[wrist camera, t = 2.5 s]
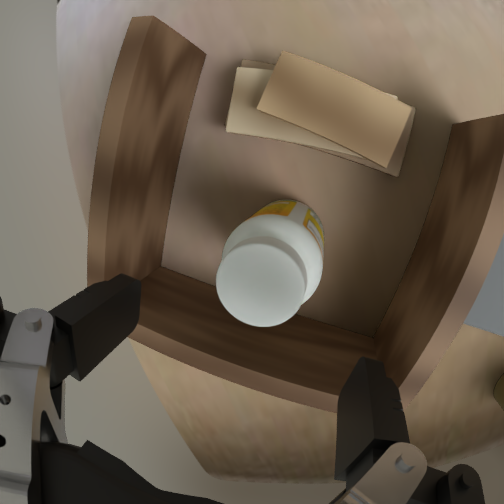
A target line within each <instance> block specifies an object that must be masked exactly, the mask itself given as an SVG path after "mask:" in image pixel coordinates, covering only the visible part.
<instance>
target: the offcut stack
mask: <svg viewBox="0 0 504 504" xmlns="http://www.w3.org/2000/svg"><path fill="white" fill-rule="evenodd" d="M397 97H398V96H395V95H391V94H388V93H384V92H382V91H380V90H378V89H376V88H374V87H372V86H370V85H368V84H366V83H363V82H361V81H359V80H357V79H355V78H353V77H350V76H348V75H346V74H344V73H341V72H339V71H337V70H334V69H332V68H329V67H327V66H324V65H322V64H319V63H317V62H314V61H311V60H309V59H306V58H303V57H300V56H297V55H294V54H291V53H288V52H285V51H282V53H281V55H280V57H279V59H278V62H277V64H276V65H274V64H269V63H264V62H258V61H252V60H245V59H243V60H242V63H241V67H237V71H236V76H235V82H234V87H233V92H232V98H231V102H230V106H229V110H228V113H227V117H226V121H225V126H226V132H229V133H234V134H241V135H248V136H255V137H261V138H267V139H273V140H279V141H284V142H290V143H295V144H299V145H303V146H306V147H310V148H313V149H316V150H320V151H323V152H326V153H329V154H332V155H335V156H338V157H342V158H345V159H347V160H350V161H353V162H356V163H359V164H362V165H365V166H368V167H370V168H373V169H376V170H378V171H381V172H384V173H386V174H389V175H391V176H395V177H398V175H399V172H400V169H401V165H402V162H403V158H404V155H405V151H406V147H407V144H408V140H409V136H410V132H411V128H412V124H413V120H414V115H415V111H416V108H414V107H412V106H410V105H407V104H405V103H403V102H400V101H399V100H397Z"/></svg>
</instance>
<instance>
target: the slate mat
mask: <svg viewBox="0 0 504 504" xmlns="http://www.w3.org/2000/svg"><path fill="white" fill-rule="evenodd" d="M464 324H467V325H470V326H473V327H476V328H479V329H482V330H485V331H488V332H492V333H495V334H498V335H501V336H504V234H503V237H502V240H501V242H500V245H499V248H498V250H497V253H496V255H495V258H494V260H493V263H492V265H491V268H490V270H489V272H488V274H487V277H486V279H485V281H484V283H483V285H482V288H481V290H480V292H479V294H478V296H477V298H476V300H475V302H474V304H473V306H472V308H471V310H470V312H469V313H468V315H467V317H466V319H465V321H464Z"/></svg>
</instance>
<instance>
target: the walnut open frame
mask: <svg viewBox="0 0 504 504" xmlns="http://www.w3.org/2000/svg"><path fill="white" fill-rule="evenodd" d="M205 57H206V53H204V52H203V51H202V50H200V49H199V48H198V47H197V46H195V45H194V44H193V43H191V42H190V41H189V40H187V39H186V38H185V37H183V36H182V35H180V34H179V33H178V32H176V31H175V30H173V29H172V28H171V27H169V26H168V25H166V24H165V23H163V22H162V21H161V20H159V19H158V18H156V17H155V16H142V17H132V19H131V22H130V25H129V27H128V30H127V33H126V36H125V39H124V42H123V45H122V48H121V51H120V54H119V57H118V61H117V64H116V67H115V71H114V75H113V78H112V82H111V86H110V90H109V94H108V98H107V102H106V106H105V111H104V116H103V120H102V125H101V131H100V136H99V142H98V147H97V154H96V160H95V167H94V175H93V183H92V192H91V202H90V214H89V229H88V255H87V287H89V286H90V285H92V284H94V283H98V282H102V281H109V280H110V279H112V278H114V277H115V276H117V275H119V274H120V273H123V274H126V275H128V276H130V277H133V278H135V279H138V280H140V282H141V300H140V315H139V321H138V324H137V326H136V328H135V329H134V331H133V332H132V333H131V334H130V335H128V336H127V337H129V338H131V339H133V340H135V341H137V342H139V343H141V344H143V345H145V346H147V347H149V348H151V349H154V350H156V351H158V352H160V353H162V354H165V355H167V356H169V357H171V358H174V359H176V360H178V361H180V362H183V363H185V364H188V365H190V366H192V367H195V368H197V369H200V370H202V371H205V372H207V373H210V374H212V375H215V376H218V377H220V378H223V379H226V380H228V381H231V382H234V383H237V384H239V385H242V386H245V387H248V388H251V389H254V390H257V391H260V392H263V393H266V394H269V395H272V396H276V397H279V398H282V399H286V400H289V401H292V402H296V403H299V404H303V405H307V406H310V407H314V408H318V409H322V410H326V411H330V412H334V413H337V403H338V398H339V395H340V392H341V390H342V388H343V386H344V384H345V383H346V381H347V379H348V378H349V376H350V374H351V372H352V371H353V369H354V367H355V365H356V364H357V362H358V360H359V359H360V358H361V357H362V356H364V357H368V358H371V359H375V360H379V361H382V362H383V364H384V368H385V372H386V377H388V378H392V380H393V381H394V383H395V384H396V386H397V387H398V389H399V392H400V397H401V403H402V406H403V411H404V410H405V409H406V407H407V406H408V405H409V404H410V402H411V401H412V400H413V399H414V397H415V396H416V395H417V393H418V392H419V391H420V389H421V388H422V387H423V385H424V384H425V382H426V381H427V380H428V378H429V377H430V375H431V374H432V373H433V371H434V370H435V368H436V367H437V365H438V364H439V362H440V361H441V359H442V358H443V356H444V354H445V353H446V351H447V350H448V348H449V347H450V345H451V343H452V342H453V340H454V338H455V337H456V335H457V333H458V331H459V330H460V328H461V326H462V324H463V323H464V321H465V319H466V317H467V315H468V313H469V312H470V310H471V308H472V306H473V304H474V302H475V300H476V298H477V296H478V294H479V292H480V290H481V288H482V285H483V283H484V281H485V279H486V277H487V274H488V272H489V270H490V268H491V265H492V263H493V260H494V258H495V255H496V253H497V250H498V248H499V245H500V242H501V240H502V237H503V234H504V114H501V115H496V116H491V117H486V118H481V119H476V120H471V121H466V122H462V123H457V124H453V125H452V130H451V134H450V138H449V143H448V147H447V151H446V155H445V159H444V162H443V166H442V170H441V173H440V177H439V180H438V183H437V187H436V190H435V193H434V196H433V199H432V202H431V206H430V208H429V211H428V214H427V217H426V220H425V223H424V226H423V228H422V231H421V234H420V236H419V239H418V242H417V244H416V247H415V249H414V252H413V254H412V257H411V259H410V262H409V264H408V266H407V269H406V271H405V273H404V276H403V278H402V280H401V282H400V285H399V287H398V289H397V291H396V293H395V295H394V298H393V300H392V302H391V304H390V306H389V308H388V310H387V312H386V314H385V316H384V318H383V320H382V322H381V324H380V326H379V328H378V330H377V332H376V333H375V335H374V337H373V338H372V337H368V336H365V335H361V334H358V333H355V332H351V331H348V330H345V329H341V328H338V327H335V326H332V325H328V324H325V323H322V322H319V321H315V320H312V319H309V318H306V317H303V316H300V315H297V314H294V315H293V316H292V317H291V318H290V319H288V320H287V321H285V322H283V323H281V324H279V325H275V326H270V327H258V326H252V325H249V324H246V323H244V322H242V321H240V320H238V319H237V318H235V317H234V316H233V315H231V314H230V313H229V312H228V311H227V310H226V308H225V307H224V306H223V304H222V302H221V300H220V299H219V296H218V293H217V289H216V287H215V286H212V285H209V284H206V283H204V282H201V281H198V280H196V279H193V278H190V277H187V276H185V275H182V274H179V273H177V272H174V271H171V270H169V269H166V268H164V267H161V260H162V253H163V246H164V239H165V233H166V227H167V220H168V215H169V209H170V203H171V198H172V192H173V187H174V182H175V177H176V172H177V167H178V162H179V158H180V153H181V149H182V144H183V140H184V135H185V131H186V127H187V123H188V119H189V115H190V111H191V107H192V103H193V99H194V96H195V92H196V88H197V85H198V81H199V78H200V74H201V71H202V67H203V64H204V61H205Z"/></svg>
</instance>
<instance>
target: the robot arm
mask: <svg viewBox="0 0 504 504" xmlns="http://www.w3.org/2000/svg"><path fill="white" fill-rule="evenodd" d="M140 300H141V282H140V280H138V279H135V278H133V277H130V276H128V275H126V274H123V273H120V274H119V275H117V276H115V277H114V278H112V279H110V280H109V281H102V282H98V283H94V284H92V285H90V286H89V287H87V288H85V289H84V291H81V292H79V293H77V294H76V296H72V297H71V298H69V299H68V300H66V301H64V302H63V303H61V304H60V305H58V306H57V307H55V308H53V309H52V310H50V311H49V312H47V311H45V310H43V309H38V308H30V309H26V310H23V311H21V312H19V313H18V314H15V313H12V312H9V311H7V310H4V309H3V304H2V299H1V297H0V504H223V503H220V502H217V501H214V500H211V499H208V498H202V497H195V496H189V495H183V494H178V493H172V492H168V491H163V490H160V489H158V488H156V487H154V486H153V485H152V484H150V483H149V482H148V481H146V480H145V479H144V478H143V477H141V476H140V475H139V474H137V473H136V472H135V471H134V470H133V469H132V468H130V467H129V466H128V465H127V464H126V463H125V462H123V461H122V460H120V459H118V458H117V457H115V456H113V455H111V454H110V453H108V452H106V451H105V450H103V449H101V448H100V447H98V446H96V445H95V444H93V443H92V442H90V441H88V440H87V441H86V442H85V443H84V445H83V446H82V447H79V446H75V445H72V444H68V442H67V437H66V433H65V418H64V417H65V380H64V379H65V378H66V377H67V376H68V375H71V376H72V377H74V378H75V379H77V380H78V381H81V380H82V379H83V378H84V377H86V375H88V374H89V373H90V372H91V371H92V370H93V369H94V368H95V367H96V366H97V365H98V364H99V363H100V362H101V361H102V360H103V359H104V358H105V357H106V356H107V355H108V354H109V353H110V352H112V351H113V350H114V348H116V347H117V346H118V345H119V344H120V343H121V342H122V341H123V340H124V339H125V338H126V337H127V336H128V335H130V334H131V333H132V332H133V331H134V329H135V328H136V326H137V324H138V321H139V315H140ZM334 480H341V481H346V489H344V490H343V491H342V492H341V493H340V494H339V495H338V496H337V497H335V498H334V499H333V500H332V501H331V502H330V503H329V504H485V501H484V495H483V489H482V484H481V480H480V477H479V475H478V473H477V472H476V471H475V470H474V469H473V468H472V467H470V466H468V465H465V464H458V465H456V466H454V467H453V468H452V469H451V470H450V471H448V472H447V473H446V472H443V471H440V470H436V469H434V468H431V467H429V466H427V461H426V458H425V456H424V455H423V453H422V452H421V451H420V450H419V449H418V448H417V447H415V446H414V445H412V444H410V441H409V435H408V430H407V425H406V420H405V415H404V412H403V406H402V403H401V397H400V392H399V389H398V387H397V386H396V384H395V383H394V381H393V380H392V378H388V377H386V372H385V368H384V364H383V362H382V361H379V360H375V359H371V358H368V357H364V356H362V357H361V358H360V359H359V360H358V362H357V364H356V365H355V367H354V369H353V371H352V372H351V374H350V376H349V378H348V379H347V381H346V383H345V384H344V386H343V388H342V390H341V392H340V395H339V398H338V403H337V441H336V461H335V477H334Z"/></svg>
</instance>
